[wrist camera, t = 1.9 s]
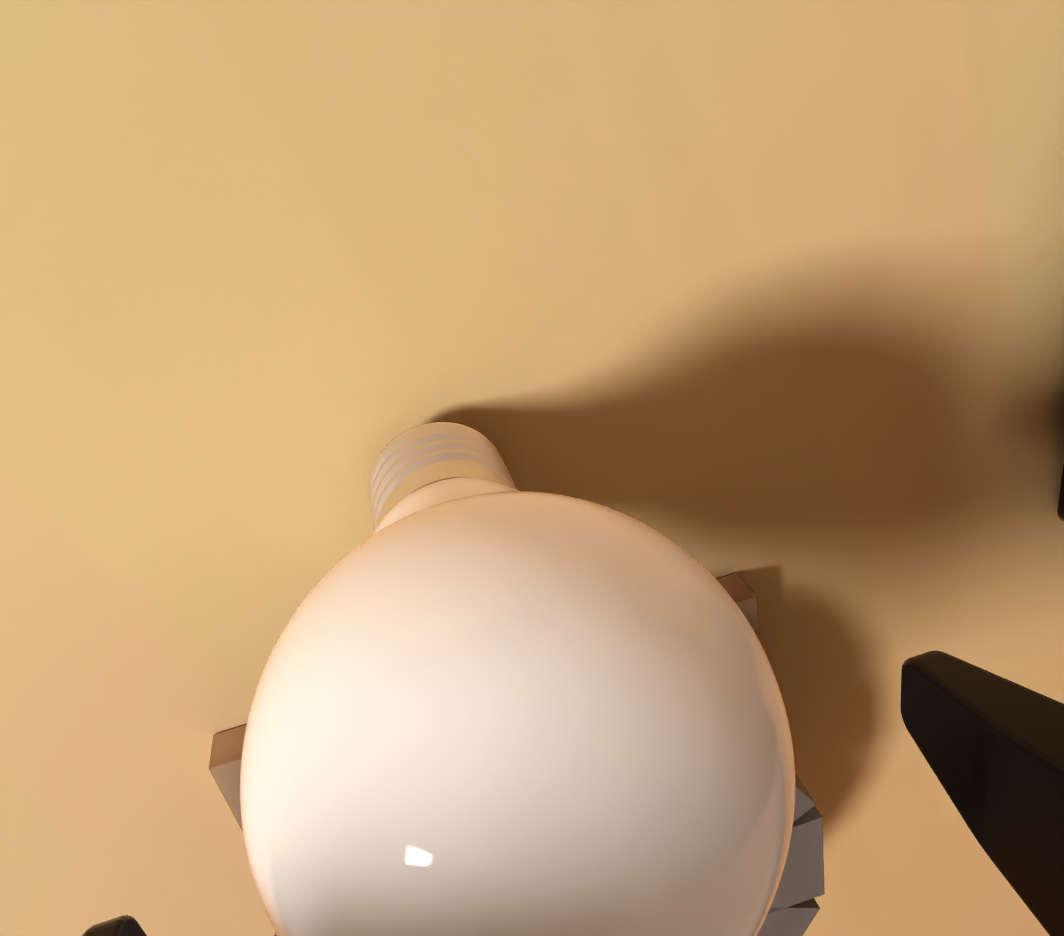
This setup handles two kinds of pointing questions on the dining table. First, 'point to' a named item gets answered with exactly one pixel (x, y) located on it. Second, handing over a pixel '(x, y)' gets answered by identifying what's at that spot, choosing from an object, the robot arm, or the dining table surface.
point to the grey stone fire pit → (806, 844)
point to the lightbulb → (513, 724)
